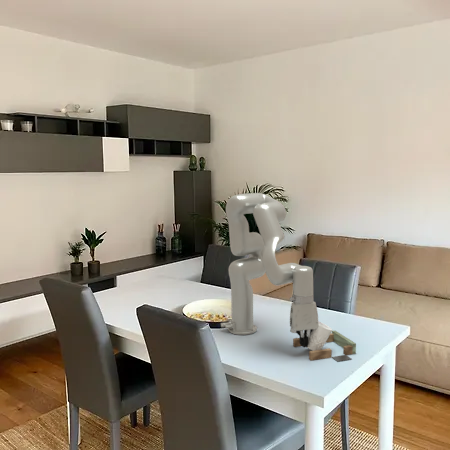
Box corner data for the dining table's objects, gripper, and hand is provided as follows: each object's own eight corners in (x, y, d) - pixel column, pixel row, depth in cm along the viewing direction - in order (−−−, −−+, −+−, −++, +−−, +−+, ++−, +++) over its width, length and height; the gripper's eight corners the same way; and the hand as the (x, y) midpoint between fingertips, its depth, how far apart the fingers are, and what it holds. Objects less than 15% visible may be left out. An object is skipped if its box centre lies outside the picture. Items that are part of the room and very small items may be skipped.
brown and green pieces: (316, 365, 166) (316, 354, 165) (288, 342, 188) (288, 332, 188) (362, 358, 172) (362, 347, 171) (329, 336, 194) (329, 327, 193)
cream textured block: (299, 340, 181) (310, 317, 180) (317, 347, 182) (328, 325, 182) (305, 348, 173) (317, 324, 173) (323, 356, 175) (335, 332, 174)
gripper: (289, 303, 168) (290, 352, 170) (325, 299, 172) (326, 347, 174) (280, 298, 175) (282, 345, 177) (316, 294, 179) (317, 340, 181)
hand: (304, 346), depth 175 cm, fingers closed
